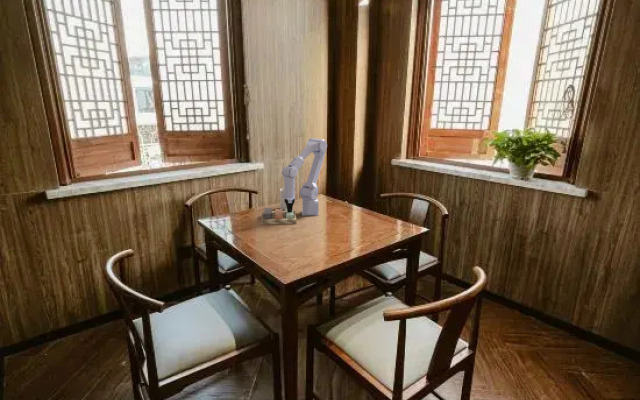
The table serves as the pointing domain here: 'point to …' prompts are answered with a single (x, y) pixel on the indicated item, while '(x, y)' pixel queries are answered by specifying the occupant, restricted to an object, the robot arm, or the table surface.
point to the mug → (282, 200)
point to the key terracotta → (278, 214)
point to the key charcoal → (267, 213)
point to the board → (278, 221)
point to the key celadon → (289, 215)
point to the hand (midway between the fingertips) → (289, 212)
